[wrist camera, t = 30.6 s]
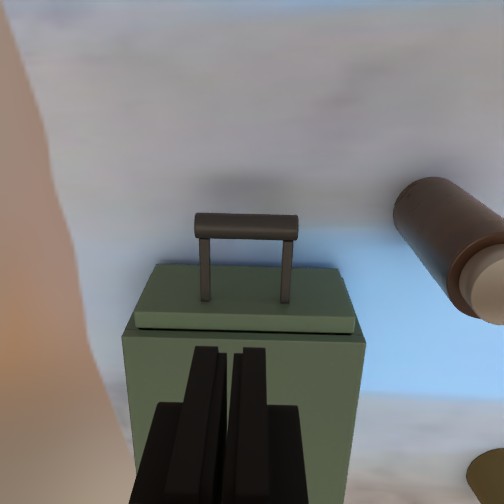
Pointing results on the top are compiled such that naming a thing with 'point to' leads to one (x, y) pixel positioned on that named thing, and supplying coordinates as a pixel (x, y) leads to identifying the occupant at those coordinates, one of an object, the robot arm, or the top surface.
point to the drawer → (245, 287)
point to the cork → (488, 477)
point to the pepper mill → (456, 244)
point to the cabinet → (277, 382)
